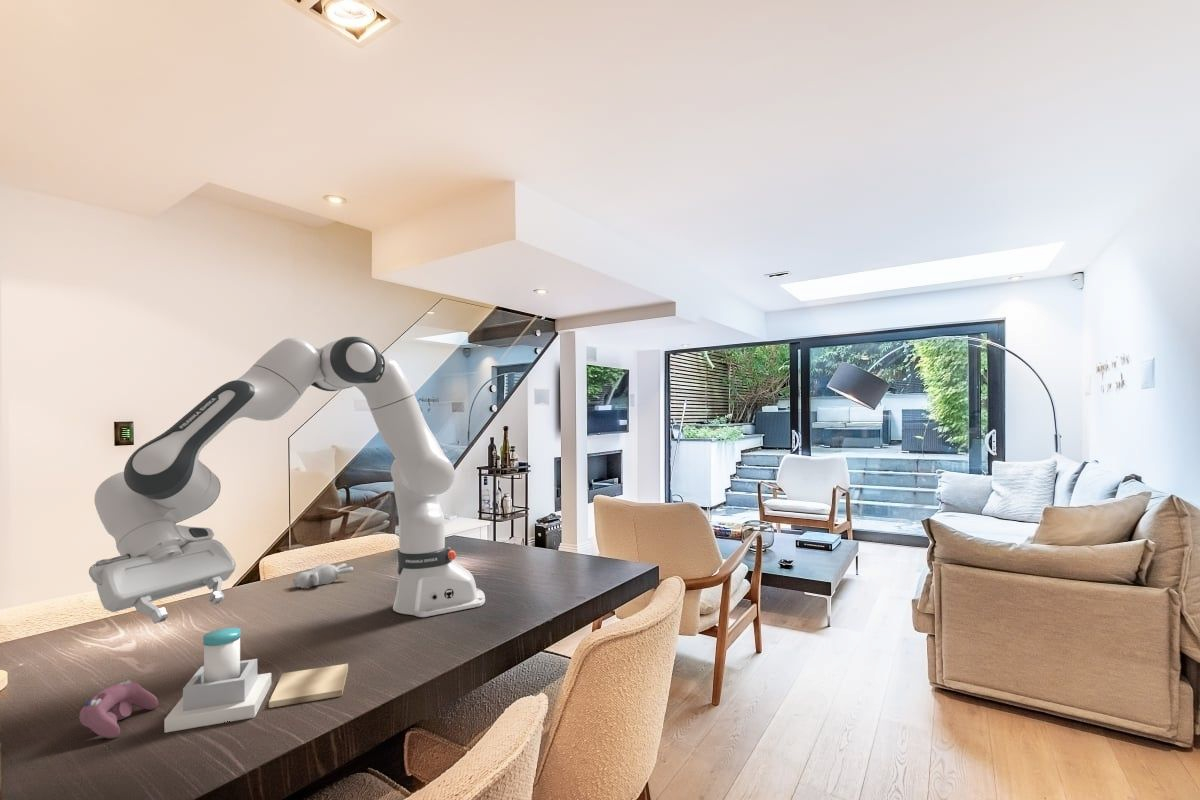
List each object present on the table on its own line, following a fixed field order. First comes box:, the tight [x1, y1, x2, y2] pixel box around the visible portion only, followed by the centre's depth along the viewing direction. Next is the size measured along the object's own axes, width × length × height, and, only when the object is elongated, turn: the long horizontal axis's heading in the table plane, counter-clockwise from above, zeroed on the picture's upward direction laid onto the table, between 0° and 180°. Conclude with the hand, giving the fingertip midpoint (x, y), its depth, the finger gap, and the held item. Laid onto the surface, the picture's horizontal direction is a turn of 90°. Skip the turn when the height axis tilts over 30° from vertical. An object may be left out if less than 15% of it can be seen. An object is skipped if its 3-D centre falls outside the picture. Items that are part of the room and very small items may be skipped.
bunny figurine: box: [292, 562, 354, 589], centre depth 163 cm, size 10×5×15 cm
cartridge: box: [202, 627, 242, 683], centre depth 93 cm, size 5×5×10 cm
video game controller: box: [78, 679, 159, 739], centre depth 89 cm, size 10×5×7 cm, turn 5°
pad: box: [268, 663, 349, 709], centre depth 99 cm, size 11×11×1 cm
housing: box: [163, 658, 272, 733], centre depth 93 cm, size 12×12×6 cm
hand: (191, 610), depth 96 cm, fingers open, 8 cm apart
